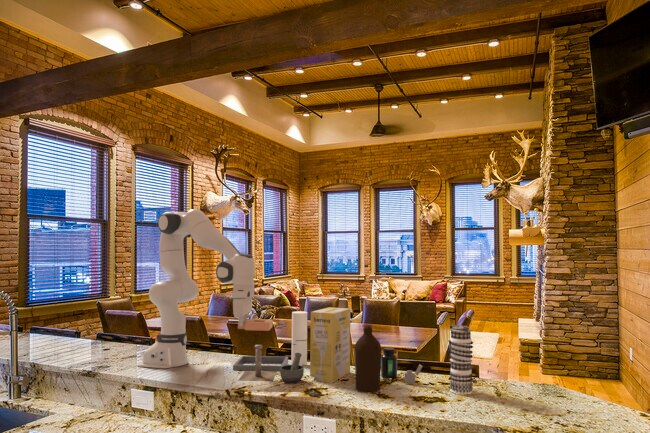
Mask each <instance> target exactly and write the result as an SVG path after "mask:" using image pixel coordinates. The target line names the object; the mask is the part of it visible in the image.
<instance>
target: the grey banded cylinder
mask: <svg viewBox="0 0 650 433" xmlns="http://www.w3.org/2000/svg"><path fill="white" fill-rule="evenodd" d="M449 331H450V339H449V340H448V348H449V349H448V352H449V356H448V357H449V361H450V372H449V375H450V376H449V379H450V381H449V389H450V390H449V392H450V391H451V392H450V393H452V392H454V393H458V394H470V395H472V394H473V393H472V391H473V390H474V389H473V388H474V387H473V384H474V383H473V382H472V381H473V374H472V371H473V370H472V363H473V360H472V359H471V358H473V357H474V356H473V355H472V354H473V350H471V349H473V348H474V346H473V344H474V342H473V341H472V338H471V337H472V336H471V335H472V334H471V332H472V329H470V328H469V326H467V325H462V324H456V325H452V327H451V328H449ZM454 393H453V394H454ZM471 393H472V394H471ZM458 394H457V395H458Z"/></svg>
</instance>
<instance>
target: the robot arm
mask: <svg viewBox="0 0 650 433" xmlns="http://www.w3.org/2000/svg"><path fill="white" fill-rule="evenodd" d="M157 226H158V229H159V231H160V232H161V233H160V237H159V247H158V248H159V260H160V261H159V262H160V263H159V264H160V269H161V270H162V271H163V272H164V273H166V274H167V276H168V278H169V280H163V281H158V282H155V283H153V284H152V285H151V286H150V287H149V289H148V297H149V300H150V302H151V303H152V304H154V305H155V306H156V308H157V310H158V311H159V315H160V323H161V324H160V327H161V328H160V332H159V334H157V335H156V336H155V340H156V342H155V343H153V344H151V345H150V346H149V347H148V348H147V349H146V350H145V351H144V353H143V355H142V356H143V357H142V359H141V360H139V361H138V362H137V367H140V368H141V367H142V368H143V367H144V368H153V369H155V368H156V369H170V368H174V367H175V368H176V367H180V366H184V365H187V364H189V359H188V356H187V355H188V354H187V349H186V348H187V346H186V345H187V332H186V324H187V323H186V322H187V317H186V314H185V313H183V312H181V311H180V309H179V306H178V304H181V303H188V302H191V301H193V300H195V299H197V297H198V295H199V292H200V291H199V285H198V284H197V282H196V281H195V280H193V278H192V277H191V276H190V275H189V273H188V270H187V267H186V262H185V252H184V239H185V238H192V240H193V241H194V243H196V245H197V246H199V247H200V248H203V249H208V250H212V251H215V252H219V253H220V254H221V255H223V256H224V257H225V258H226V260H224V261H220V262H219V263H218V265H217V266H216V269H215V276H216V278H217V280H218V281H219V282H220V283H223V284H232V286H233V287H232V292H231V298H232V310H233V312H232V314H233V317H234V318H238V321H239V326H244V320H248V316H249V313H250V312H252V309H253V299H252V297H254V296H255V280H254V278H255V276H256V275H255V274H256V272H255V269H256V268H255V258H254V256H253V255H251V254H249V253H242V252H240V251H239V250H238V249H237V248H236V246H235V244H233V243H232V242H231V240H229V239H228V238H227V237H226V235H224V234H222V233H221V232H220V231H219V230H218V229H217V227H215V225H214V224H213V222H212V221H211V220H210V218H209V217H208V216H207V215H206V214H205V213H204V211H202V210H201V209H199V208H193V209H190V210H188V211H166V212H163V213H161V214H160V216H159V217H158V220H157Z"/></svg>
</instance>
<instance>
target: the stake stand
mask: <svg viewBox="0 0 650 433" xmlns="http://www.w3.org/2000/svg"><path fill="white" fill-rule="evenodd" d="M254 349H255V356H256V364H254V365H255V370H244V371H243V373H242V375H241V376H240V377H238V378H239V379H237V381H243V382H244V381H245V382H247V381H248V382H273V381H274V379H275V377H276V375H277V373H278V371H261V365H262V364H261V356H262V352H263V351H262V350H263V344H255V345H254Z"/></svg>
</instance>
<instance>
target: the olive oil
mask: <svg viewBox="0 0 650 433" xmlns="http://www.w3.org/2000/svg"><path fill="white" fill-rule="evenodd" d="M353 350H354V352H353V353H354V371H355V372H354V373H355V390H356V391H358V392H361V393H368V392H370V393H377V392H378V391H380V390H381V356H382V346H381V343H380V341H379V340H378V339H377V338H376V336H375V335H374V334H373V325H372V323H364V324H363V334H362V335H361V337H359V339H358V340H356V342H355V345H354V349H353Z"/></svg>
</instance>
